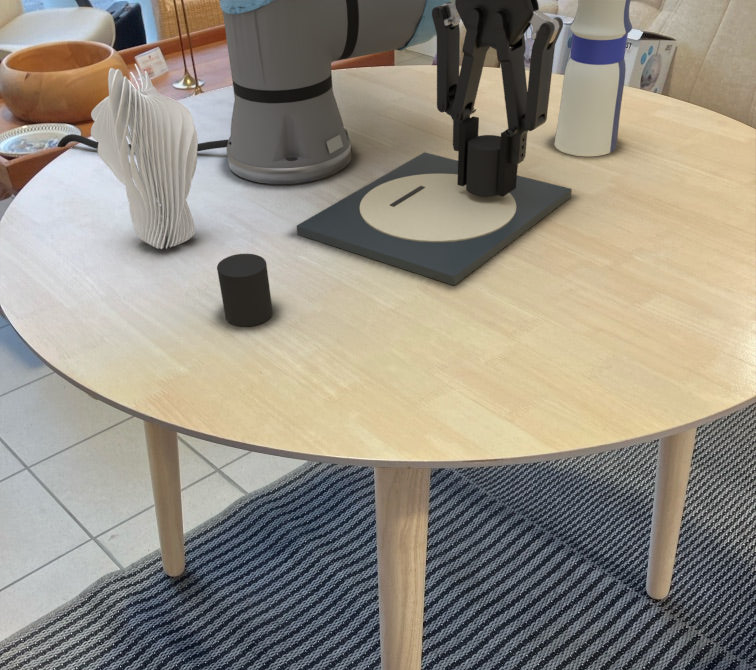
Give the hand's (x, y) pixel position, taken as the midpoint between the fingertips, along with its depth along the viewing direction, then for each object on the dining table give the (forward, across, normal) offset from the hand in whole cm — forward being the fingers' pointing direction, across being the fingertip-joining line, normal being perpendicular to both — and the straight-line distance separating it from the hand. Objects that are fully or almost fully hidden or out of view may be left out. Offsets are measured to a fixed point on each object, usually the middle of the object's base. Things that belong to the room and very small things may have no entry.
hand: (486, 186), depth 94 cm
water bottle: (+2, +1, +22) cm, 22 cm away
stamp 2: (0, 0, 0) cm, 0 cm away
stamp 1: (+2, -6, -32) cm, 33 cm away
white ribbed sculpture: (+2, -24, -26) cm, 35 cm away
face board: (+2, -3, -5) cm, 6 cm away
